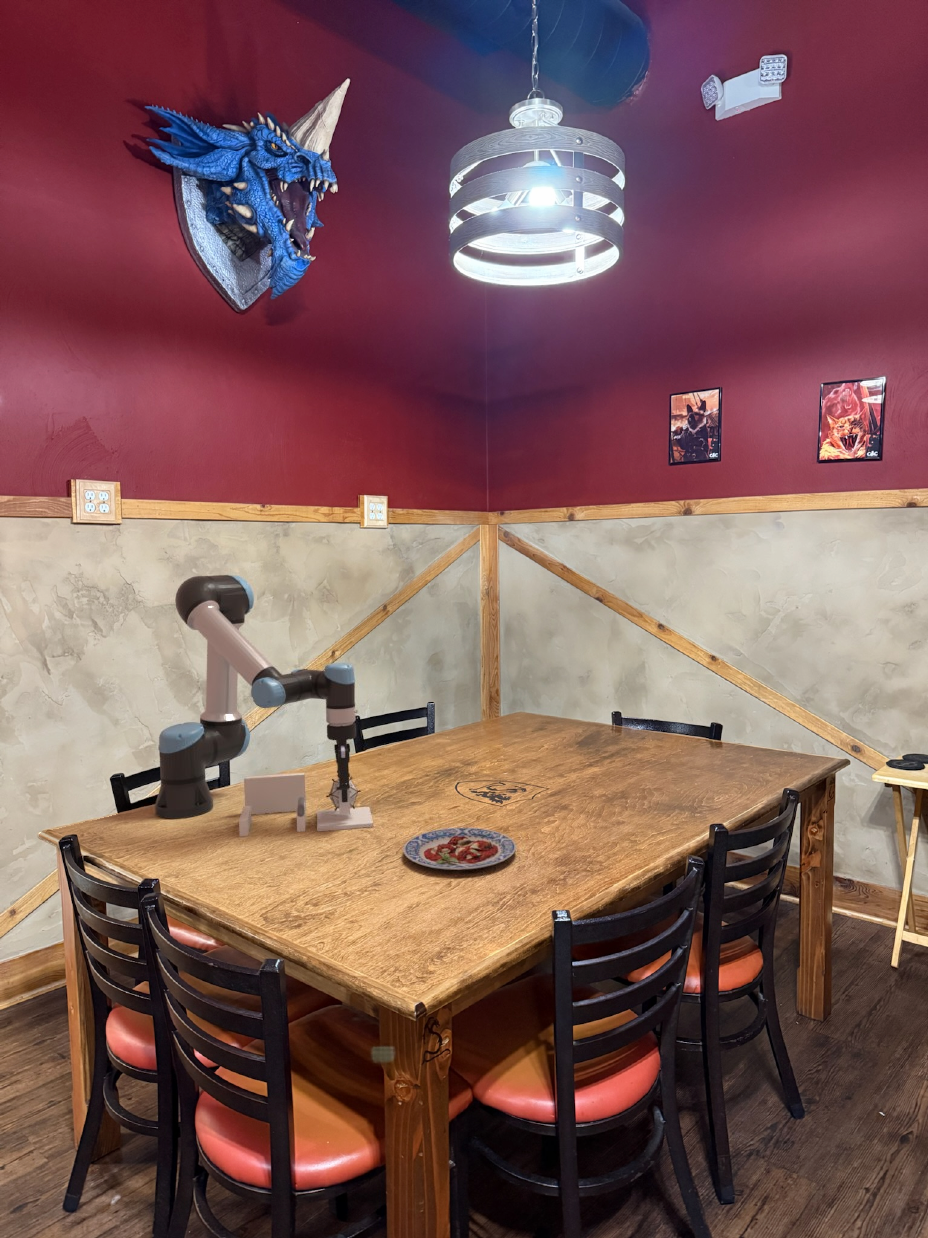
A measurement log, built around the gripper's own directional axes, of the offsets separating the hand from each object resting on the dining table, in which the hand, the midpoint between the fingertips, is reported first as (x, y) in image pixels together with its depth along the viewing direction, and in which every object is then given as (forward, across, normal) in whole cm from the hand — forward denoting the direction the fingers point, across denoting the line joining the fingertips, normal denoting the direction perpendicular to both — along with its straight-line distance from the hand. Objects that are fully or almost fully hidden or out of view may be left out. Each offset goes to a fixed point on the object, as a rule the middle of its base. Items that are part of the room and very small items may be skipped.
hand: (344, 808), depth 206 cm
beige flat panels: (+3, +3, +18) cm, 19 cm away
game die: (0, 0, 0) cm, 0 cm away
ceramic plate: (+4, -31, -25) cm, 40 cm away
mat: (+3, 0, 0) cm, 3 cm away
